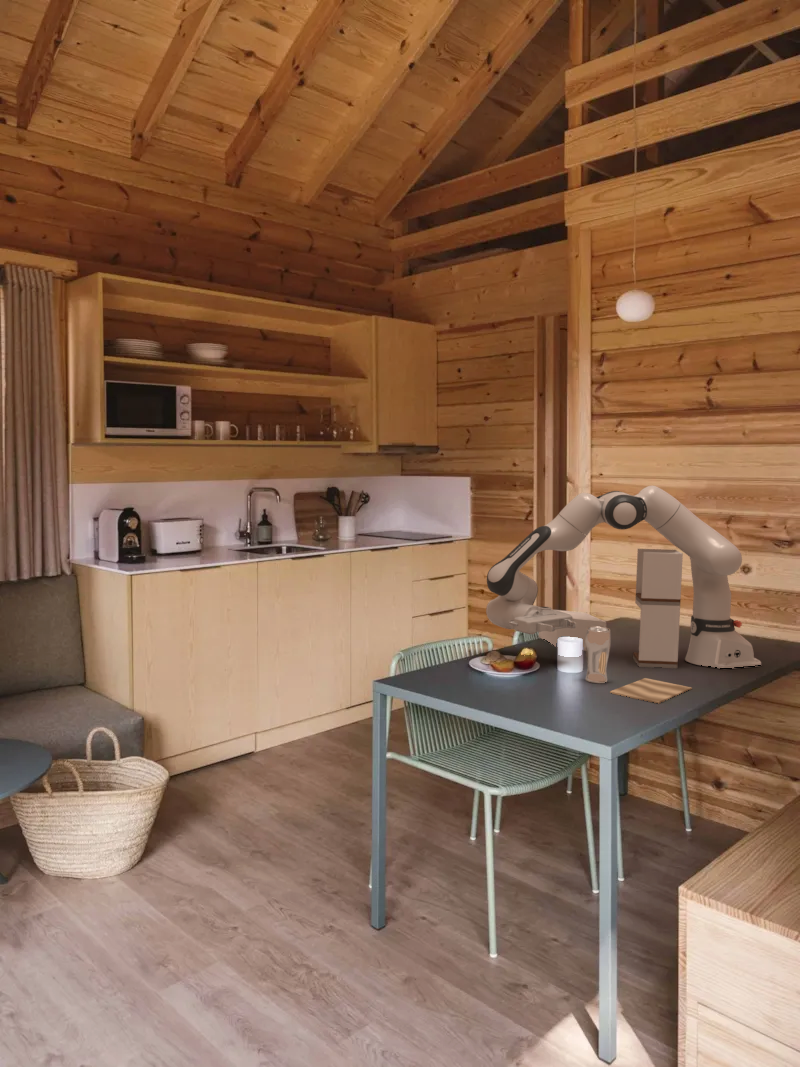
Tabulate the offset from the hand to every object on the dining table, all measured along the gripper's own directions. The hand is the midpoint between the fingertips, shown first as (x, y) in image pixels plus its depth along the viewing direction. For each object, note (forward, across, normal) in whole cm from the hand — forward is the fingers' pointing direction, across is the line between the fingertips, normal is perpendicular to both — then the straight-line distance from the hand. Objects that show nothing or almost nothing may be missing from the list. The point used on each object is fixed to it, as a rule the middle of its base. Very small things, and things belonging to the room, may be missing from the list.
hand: (563, 627), depth 256 cm
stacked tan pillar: (+10, +32, +13) cm, 36 cm away
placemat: (+28, +4, +13) cm, 31 cm away
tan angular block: (-23, +31, +14) cm, 41 cm away
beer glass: (+12, 0, +14) cm, 18 cm away
